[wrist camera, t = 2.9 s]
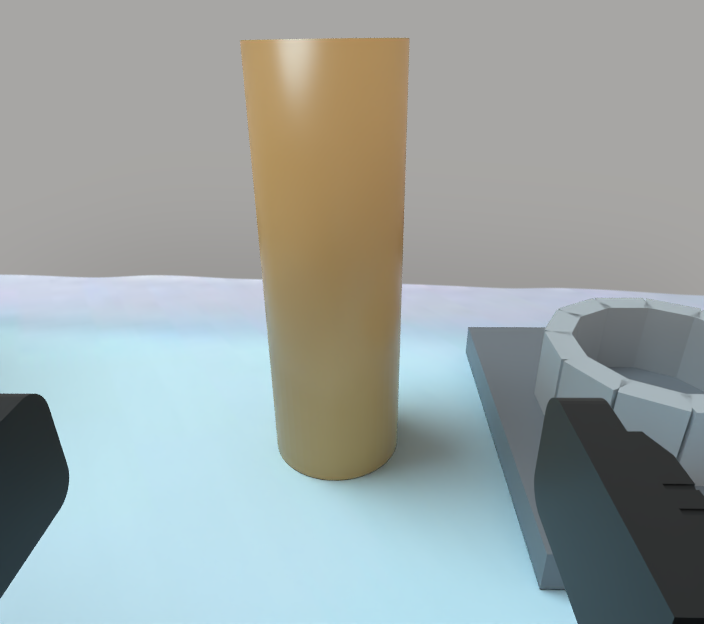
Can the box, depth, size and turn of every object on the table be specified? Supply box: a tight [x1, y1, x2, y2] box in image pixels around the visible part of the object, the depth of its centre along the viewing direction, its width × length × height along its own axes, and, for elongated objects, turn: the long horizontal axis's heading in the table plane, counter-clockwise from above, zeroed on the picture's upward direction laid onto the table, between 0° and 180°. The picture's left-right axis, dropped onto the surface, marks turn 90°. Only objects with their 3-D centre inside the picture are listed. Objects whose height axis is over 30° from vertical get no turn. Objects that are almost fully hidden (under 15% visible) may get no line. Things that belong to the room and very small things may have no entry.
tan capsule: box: [240, 38, 409, 480], centre depth 19 cm, size 5×5×15 cm
